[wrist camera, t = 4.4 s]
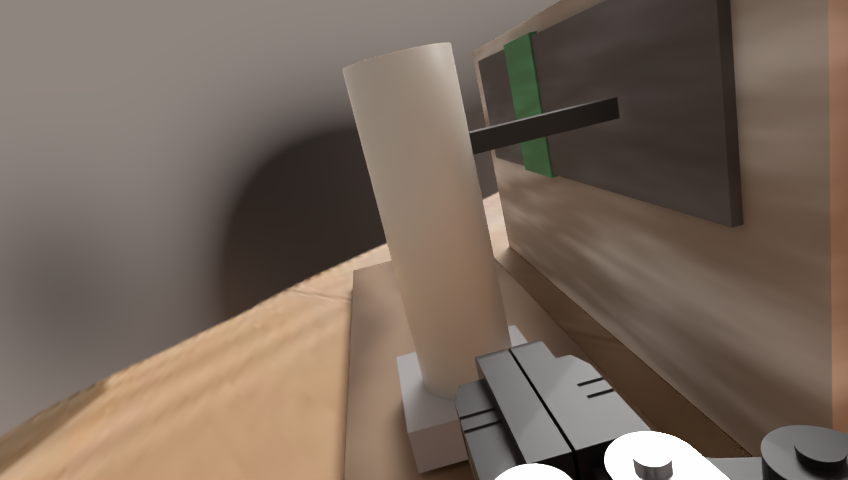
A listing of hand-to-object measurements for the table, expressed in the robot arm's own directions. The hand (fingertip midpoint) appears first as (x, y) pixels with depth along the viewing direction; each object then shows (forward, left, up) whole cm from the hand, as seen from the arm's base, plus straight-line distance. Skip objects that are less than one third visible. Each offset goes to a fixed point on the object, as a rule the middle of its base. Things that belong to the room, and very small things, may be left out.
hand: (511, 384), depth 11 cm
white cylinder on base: (+2, +9, -7) cm, 12 cm away
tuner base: (+3, +18, -9) cm, 20 cm away
